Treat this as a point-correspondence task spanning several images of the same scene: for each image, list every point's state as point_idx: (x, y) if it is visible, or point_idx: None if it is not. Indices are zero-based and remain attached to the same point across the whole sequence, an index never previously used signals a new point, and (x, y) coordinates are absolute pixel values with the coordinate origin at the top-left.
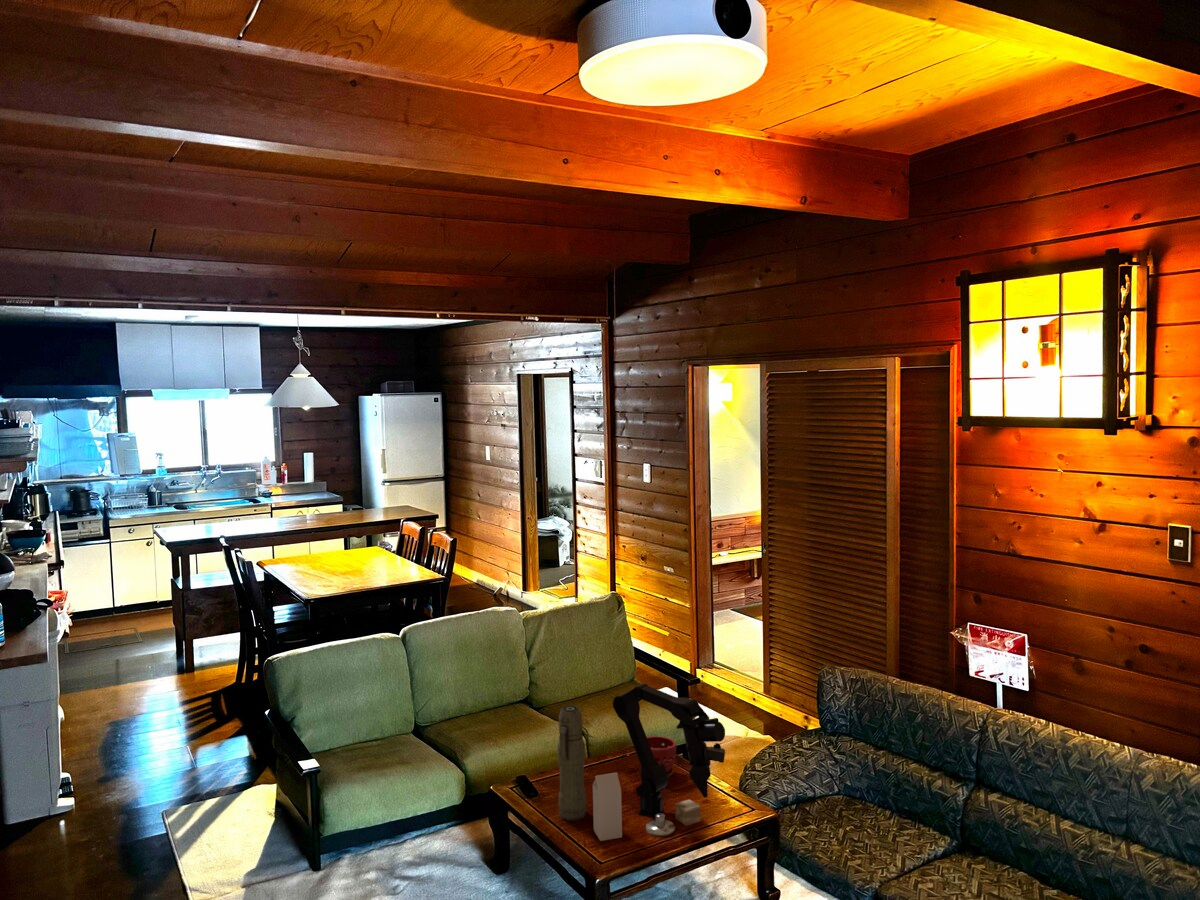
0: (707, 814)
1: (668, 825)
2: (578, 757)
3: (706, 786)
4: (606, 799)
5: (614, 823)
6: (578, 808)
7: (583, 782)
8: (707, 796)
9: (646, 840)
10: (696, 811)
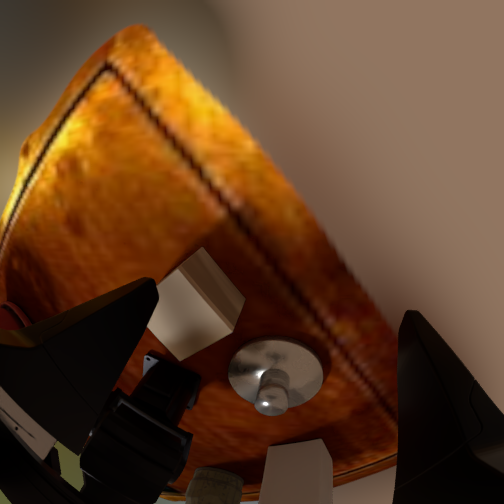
0: (148, 218)
1: (269, 359)
2: None
3: (474, 387)
4: None
5: (325, 475)
6: (235, 493)
7: None
8: (417, 311)
9: (341, 400)
10: (199, 278)
